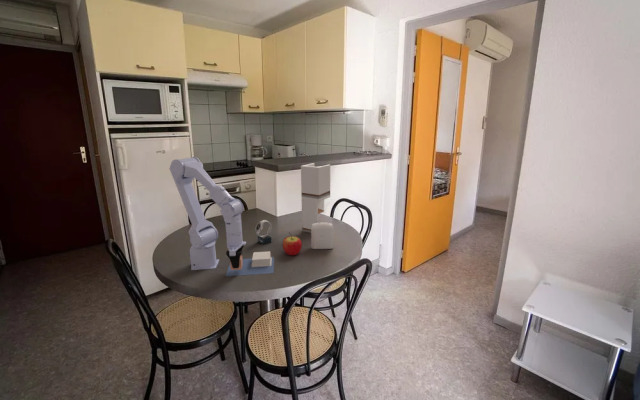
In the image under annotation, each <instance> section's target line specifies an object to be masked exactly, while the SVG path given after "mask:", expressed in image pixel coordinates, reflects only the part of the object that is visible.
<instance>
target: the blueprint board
mask: <svg viewBox="0 0 640 400" xmlns="http://www.w3.org/2000/svg"><path fill="white" fill-rule="evenodd" d="M242 260H243V266H242V269H240V270H231V266H230V264H229V265H228V268H227V270H226V271H227V272H226V273H225V277H234V276H235V277H236V276H237V277H238V276H250V275H252V276H253V275H266V274H267V275H268V274H275V273H274V272H275V256H271V261H270V265H267V266H253V265H252V258H242Z"/></svg>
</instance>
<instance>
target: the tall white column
mask: <svg viewBox="0 0 640 400" xmlns="http://www.w3.org/2000/svg"><path fill="white" fill-rule="evenodd" d="M300 186H301V187H300V188H301V190H300V193H301V230H302V231H301V232H306V233H309V234H311V227H312V224H314V223H319V214H321V213H324V212H325V199H326V200H327V199H328V198H331V164H326V165H321V166H315V162H313V163H312V162H311V163H308V164H303V165H300Z"/></svg>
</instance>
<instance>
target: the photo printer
mask: <svg viewBox="0 0 640 400" xmlns="http://www.w3.org/2000/svg"><path fill="white" fill-rule="evenodd" d="M318 222H319V221H318ZM310 236H311V239H310V241H311V249H313V250H328V249H329V250H331V249H332V250H333V249H334V248H335V247H334V226H333V223H330V222H325V221H323V222H322V221H321V222H319V223H314V224H312V227H311V233H310Z"/></svg>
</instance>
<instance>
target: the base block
mask: <svg viewBox="0 0 640 400" xmlns="http://www.w3.org/2000/svg"><path fill="white" fill-rule="evenodd" d="M271 254H272V253H271V250H270V251H254V252H253V254H252V258H251V259H252V265H253V266H267V265H270V261H271V257H272V255H271Z"/></svg>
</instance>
